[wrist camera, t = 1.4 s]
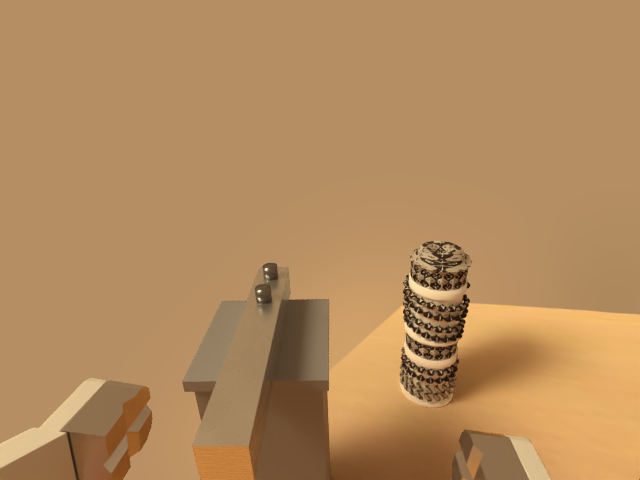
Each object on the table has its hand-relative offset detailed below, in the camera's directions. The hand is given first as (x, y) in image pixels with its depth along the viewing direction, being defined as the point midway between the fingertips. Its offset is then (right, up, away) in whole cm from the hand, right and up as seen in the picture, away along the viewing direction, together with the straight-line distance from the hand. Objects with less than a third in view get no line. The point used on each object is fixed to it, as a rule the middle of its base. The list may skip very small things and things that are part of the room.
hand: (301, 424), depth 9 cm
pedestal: (-3, -27, +33) cm, 43 cm away
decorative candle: (+18, -19, +50) cm, 57 cm away
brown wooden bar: (-4, -5, +20) cm, 21 cm away
